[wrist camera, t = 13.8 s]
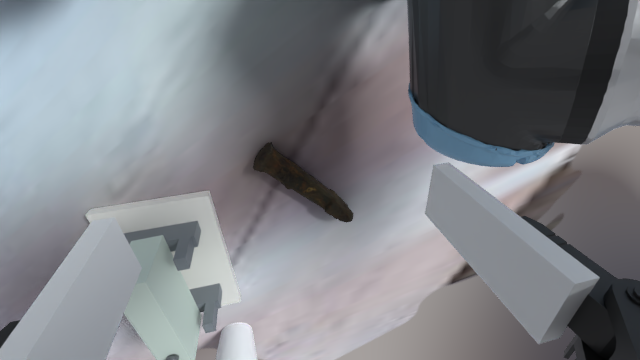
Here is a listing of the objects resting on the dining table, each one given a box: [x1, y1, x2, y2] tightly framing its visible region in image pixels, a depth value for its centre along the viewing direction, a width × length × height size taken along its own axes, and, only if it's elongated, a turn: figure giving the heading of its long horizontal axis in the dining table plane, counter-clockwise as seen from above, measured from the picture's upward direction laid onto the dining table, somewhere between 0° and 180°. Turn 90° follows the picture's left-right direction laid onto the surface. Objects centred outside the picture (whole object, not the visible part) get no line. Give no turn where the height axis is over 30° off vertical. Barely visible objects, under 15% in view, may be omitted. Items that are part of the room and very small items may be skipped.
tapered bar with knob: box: [124, 235, 202, 360], centre depth 40 cm, size 4×18×9 cm, turn 5°
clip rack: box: [85, 190, 241, 333], centre depth 44 cm, size 16×24×9 cm, turn 3°
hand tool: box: [253, 142, 353, 222], centre depth 44 cm, size 19×4×5 cm, turn 45°
